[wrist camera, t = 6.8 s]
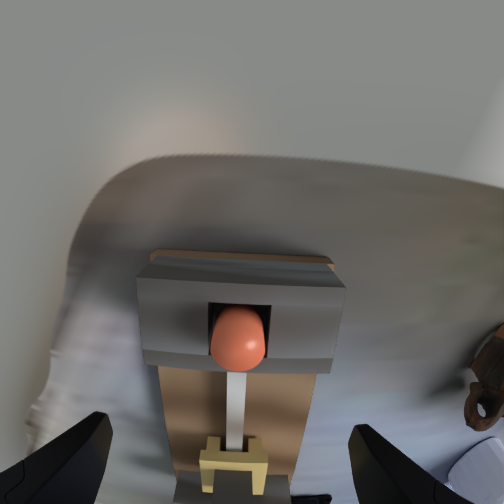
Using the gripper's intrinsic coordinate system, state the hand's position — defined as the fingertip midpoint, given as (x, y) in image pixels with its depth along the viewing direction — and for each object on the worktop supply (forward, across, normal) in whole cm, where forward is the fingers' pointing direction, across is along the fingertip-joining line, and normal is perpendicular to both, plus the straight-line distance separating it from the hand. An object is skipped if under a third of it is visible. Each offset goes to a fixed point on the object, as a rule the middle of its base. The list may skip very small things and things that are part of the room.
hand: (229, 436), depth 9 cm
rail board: (+12, 0, +10) cm, 16 cm away
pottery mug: (+12, -26, +8) cm, 30 cm away
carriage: (+10, 0, +14) cm, 18 cm away
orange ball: (+8, 0, 0) cm, 8 cm away
